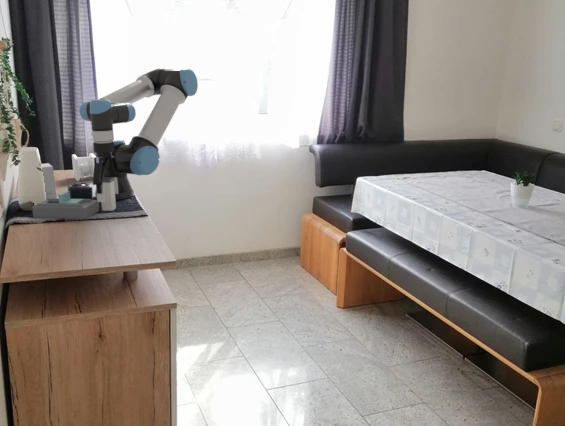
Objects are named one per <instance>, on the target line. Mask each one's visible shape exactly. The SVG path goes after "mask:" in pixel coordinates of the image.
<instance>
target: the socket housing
mask: <svg viewBox="0 0 565 426" xmlns="http://www.w3.org/2000/svg"><path fill="white" fill-rule="evenodd" d="M83 199H84V201H83V202H81V203H80V204H59V197H58V198H48V199H47V200H45V201H43V202H41V203H37V205H32V207H31V211H32V216H33V217H32V218H35V219H36V218H38V219H39V218H41V219H73V220H75V219H77V220H79V219H82V220H83V219H84V220H85V219H88V218H90V217H91V216H93V215H95V214H96V213H98V212H99V211H100V202H97V199H91V198H83Z"/></svg>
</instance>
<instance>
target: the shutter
mask: <svg viewBox="0 0 565 426" xmlns="http://www.w3.org/2000/svg"><path fill="white" fill-rule="evenodd" d="M70 192H71V191H70V190H65V191H63V192H62V193H59V194H57V196H58V198H59V204H80V203H81V202H83V201H84V199H85V198H71V193H70Z"/></svg>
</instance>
